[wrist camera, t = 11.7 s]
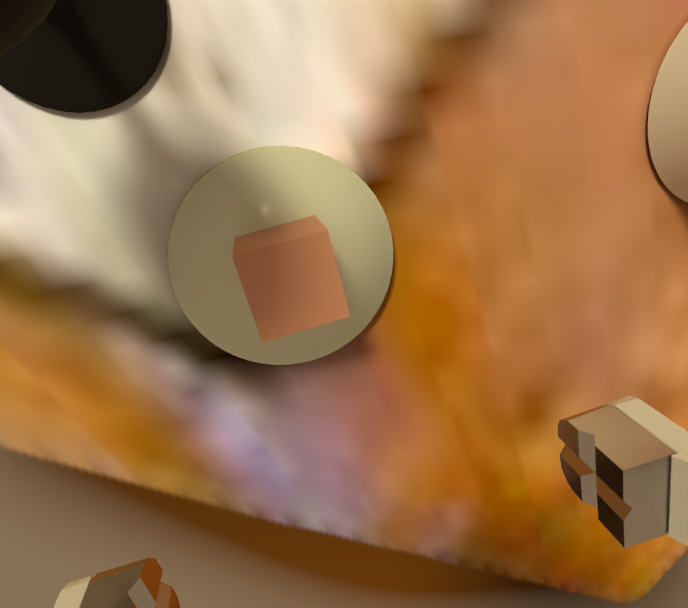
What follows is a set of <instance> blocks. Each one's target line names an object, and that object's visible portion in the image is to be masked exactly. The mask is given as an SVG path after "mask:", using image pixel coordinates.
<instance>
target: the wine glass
mask: <svg viewBox="0 0 688 608" xmlns="http://www.w3.org/2000/svg"><path fill="white" fill-rule="evenodd" d="M167 25H168V21H167V4H166V0H0V84H1V85H2V86H3V87H5V88H6V89H7V90H9V91H10V92H12V93H14V94H16V95H18V96H20V97H21V98H23V99H25V100H27V101H30V102H32V103H35V104H38V105H40V106H43V107H46V108H51V109H55V110H59V111H66V112H76V113H83V112H94V111H99V110H103V109H107V108H111V107H113V106H115V105H117V104H120V103H122V102H124V101H125V100H127V99H128V98H130V97H131V96H133V95H134V94H136V93H137V92H138V91H139V90H140V89H141V88H142V87H143V86H144V85H145V84H146V83H147V82H148V80H149V79H150V77H151V76H152V74H153V73H154V72H155V70H156V68H157V66H158V63H159V61H160V59H161V57H162V54H163V50H164V46H165V42H166V35H167Z"/></svg>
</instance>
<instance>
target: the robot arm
mask: <svg viewBox="0 0 688 608" xmlns="http://www.w3.org/2000/svg"><path fill="white" fill-rule="evenodd" d="M648 142H649V149H650V154H651V158H652V161H653V164H654V167H655V169H656V171H657V173H658V175H659V177H660V179H661V180H662V182H663V183H664V185H665V186H666V187H667V188H668V189H669V190H670V191H671V192H672V193H673V194H674V195H675V196H677V197H678V198H680V199H681V200H683V201H685V202H687V203H688V22H687V23H686V24H685V26H684V27H683V28H682V30H681V31H680V32H679V34H678V35H677V37H676V38H675V40H674V42H673V43H672V45H671V47H670V48H669V50H668V52H667V54H666V56H665V58H664V60H663V62H662V65H661V67H660V70H659V72H658V75H657V78H656V81H655V84H654V87H653V91H652V95H651V100H650V106H649V114H648ZM558 437H559V438H560V439H561V440H562V441H563V442H564V443H565V446H564V448H563V450H562V451H561V453H560V460H561V468H562V470H563V473H564V475H565V478H566V480H567V482H568V484H569V485H570V487H571V488H572V490H573V491H574V493H575V494H576V495H577V496H578V497H579V498H580V499H581V501H582V502H585V503H587V504H590V505H592V506H595V507H597V508H598V520H599V521H600V522H601V523H602V524H603V525H604V526H605V527H606V528H607V529H608V531H609V532H610V533H611V534H612V535H613V536H614V537H615V538H616V539H617V540H618V542H619V543H620V544H621V545H622V546H623V547H624V548H626V547H629V546H632V545H636V544H639V543H642V542H645V541H648V540H651V539H654V538H657V537H660V536H663V535H666V534H669V537H671V538H673V539H675V540H677V541H679V542H681V543H683V544H685V545H687V546H688V432H687V431H686V430H684V429H683V428H681V427H680V426H678V425H677V424H675V423H674V422H672V421H671V420H670V419H668V418H667V417H665V416H664V415H662V414H661V413H659V412H658V411H656V410H655V409H653V408H652V407H650V406H649V405H647V404H646V403H644V402H643V401H641V400H640V399H638V398H636V397H632V396H628V397H625V398H622V399H619V400H616V401H613V402H611V403H608V404H606V405H603V406H600V407H597V408H594V409H591V410H588V411H585V412H582V413H579V414H576V415H574V416H571V417H568V418H565V419H562V420H560V421H559V424H558ZM162 571H163V570H162V568H161V567H160V565H159V563H158V562H157V560H156V559H155V558H146V559H143V560H140V561H137V562H133V563H130V564H127V565H123V566H120V567H117V568H114V569H110V570H107V571H104V572H100V573H97V574H96V575H94V576H90V577H87V578H83V579H80V580H76V581H73V582H70V583H68V584H67V585H66V586H65V587H64V588H63V589H62V590H61V592H60V594H59V596H58V599H57V601H56V603H55V605H54V608H180V605H179V601H178V598H177V595H176V593H175V591H174V589H173V588H172V586H170V585H167V584H165V583H163V582H160V580H161V576H162Z"/></svg>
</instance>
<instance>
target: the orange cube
mask: <svg viewBox="0 0 688 608" xmlns="http://www.w3.org/2000/svg"><path fill="white" fill-rule="evenodd" d="M232 258H233V261H234V263H235V266H236V269H237V272H238V275H239V278H240V281H241V284H242V287H243V289H244V292H245V295H246V298H247V301H248V304H249V307H250V310H251V312H252V315H253V318H254V321H255V324H256V327H257V330H258V333H259V335H260V338H261V341H262V343H265V342H268V341H271V340H274V339H278V338H281V337H284V336H288V335H291V334H294V333H297V332H301V331H304V330H307V329H310V328H314V327H317V326H320V325H324V324H327V323H330V322H333V321H337V320H340V319H343V318H346V317H350V314H349V310H348V306H347V302H346V298H345V295H344V291H343V287H342V283H341V279H340V275H339V271H338V268H337V264H336V260H335V256H334V252H333V248H332V245H331V241H330V237H329V233H328V229H327V228H326V227H325V226H324V225H323V224H322V223H321V221H320V220H319V219H318V218H317V217H316V216H315V215H313V216H309V217H305V218H302V219H298V220H295V221H291V222H288V223H284V224H281V225H277V226H273V227H270V228H266V229H263V230H259V231H256V232H252V233H249V234H245V235H242V236H238V237H235V241H234V247H233V254H232Z"/></svg>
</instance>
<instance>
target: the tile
mask: <svg viewBox="0 0 688 608" xmlns="http://www.w3.org/2000/svg"><path fill="white" fill-rule="evenodd" d="M313 215H315V216H316V217H317V218H318V219H319V220H320V221H321V223H322V224H323V225H324V226H325V227H326V228H327V229H328V233H329V237H330V241H331V245H332V248H333V252H334V256H335V260H336V264H337V268H338V271H339V275H340V279H341V283H342V287H343V291H344V295H345V298H346V302H347V306H348V310H349V314H350V317H346V318H343V319H340V320H337V321H333V322H330V323H327V324H324V325H320V326H317V327H314V328H310V329H307V330H304V331H301V332H297V333H294V334H291V335H288V336H284V337H281V338H278V339H274V340H271V341H268V342H265V343H262V341H261V338H260V335H259V333H258V330H257V327H256V324H255V321H254V318H253V315H252V312H251V310H250V307H249V304H248V301H247V298H246V295H245V292H244V289H243V287H242V284H241V281H240V278H239V275H238V272H237V269H236V266H235V263H234V261H233V258H232V254H233V247H234V241H235V237H238V236H242V235H245V234H249V233H252V232H256V231H259V230H263V229H266V228H270V227H273V226H277V225H281V224H284V223H288V222H291V221H295V220H298V219H302V218H305V217H309V216H313ZM392 268H393V243H392V236H391V231H390V227H389V224H388V220H387V218H386V215H385V213H384V211H383V208H382V206H381V205H380V203H379V201H378V200H377V198H376V196H375V195H374V193H373V192H372V191H371V190H370V188H369V187H368V186H367V184H366V183H365V182H364V181H363V180H362V179H361V178H360V177H359V176H358V175H356V174H355V173H354V172H353V171H352V170H350V169H349V168H347V167H346V166H345V165H343V164H342V163H340V162H338V161H336V160H334V159H333V158H331V157H329V156H326V155H324V154H321V153H318V152H316V151H312V150H308V149H303V148H299V147H288V146H272V147H263V148H257V149H252V150H249V151H246V152H243V153H240V154H237V155H235V156H233V157H231V158H229V159H227V160H225V161H223V162H221V163H220V164H218V165H217V166H216V167H214V168H213V169H211V170H210V171H208V172H207V173H206V174H205V175H204V176H203V177H202V178H201V179H200V180H199V181H198V182H197V183H196V184H195V185H194V186H193V188H192V189H191V190H190V191H189V193H188V194H187V195H186V197H185V199H184V200H183V202H182V204H181V205H180V207H179V209H178V211H177V214H176V216H175V219H174V221H173V224H172V228H171V232H170V236H169V244H168V269H169V275H170V280H171V284H172V287H173V290H174V293H175V296H176V298H177V300H178V302H179V304H180V306H181V308H182V310H183V312H184V313H185V315H186V316H187V318H188V319H189V321H190V322H191V323H192V324H193V325H194V326H195V328H196V329H197V330H198V331H199V332H200V333H201V334H202V335H203V336H204V337H206V338H207V339H208V340H209V341H210V342H212V343H213V344H215V345H216V346H218V347H219V348H221V349H222V350H224V351H226V352H228V353H230V354H232V355H234V356H237V357H239V358H242V359H245V360H248V361H252V362H257V363H261V364H271V365H290V364H298V363H304V362H308V361H312V360H316V359H318V358H321V357H323V356H326V355H328V354H330V353H332V352H334V351H336V350H338V349H340V348H341V347H343V346H344V345H346V344H347V343H349V342H350V341H351V340H353V339H354V338H355V337H356V336H357V335H358V334H359V333H361V331H362V330H363V329H364V328H365V327H366V326H367V325H368V324H369V323H370V321H371V320H372V318H373V317H374V316H375V314H376V313H377V311H378V309H379V308H380V306H381V304H382V302H383V300H384V298H385V295H386V292H387V290H388V287H389V283H390V279H391V275H392Z"/></svg>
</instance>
